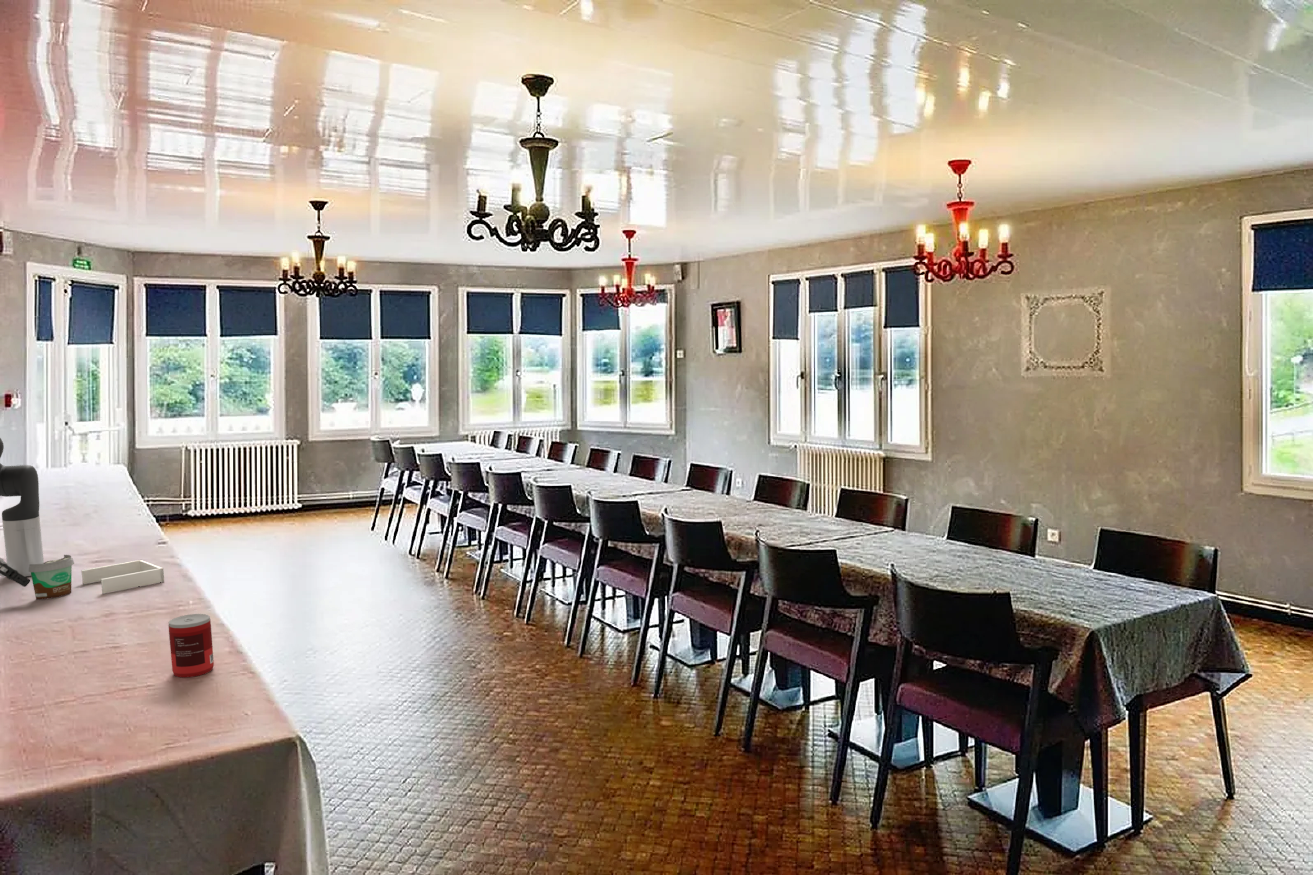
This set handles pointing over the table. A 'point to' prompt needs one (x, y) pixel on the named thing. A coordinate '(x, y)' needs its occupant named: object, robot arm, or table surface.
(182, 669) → the canned food
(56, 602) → the table surface
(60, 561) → the food container
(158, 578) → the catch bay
